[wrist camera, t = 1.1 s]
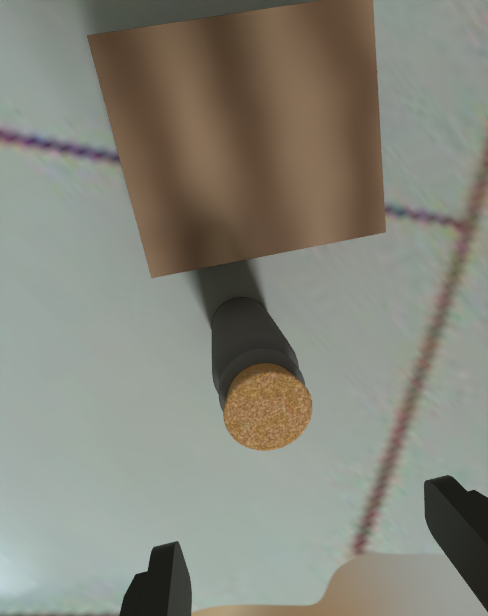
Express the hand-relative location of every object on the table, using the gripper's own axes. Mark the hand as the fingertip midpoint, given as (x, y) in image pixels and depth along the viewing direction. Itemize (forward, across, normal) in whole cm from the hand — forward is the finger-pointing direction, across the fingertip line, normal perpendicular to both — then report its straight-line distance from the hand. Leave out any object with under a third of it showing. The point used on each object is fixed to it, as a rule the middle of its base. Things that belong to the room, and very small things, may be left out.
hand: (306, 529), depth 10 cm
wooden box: (+21, -3, -14) cm, 26 cm away
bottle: (+22, 0, 0) cm, 22 cm away
